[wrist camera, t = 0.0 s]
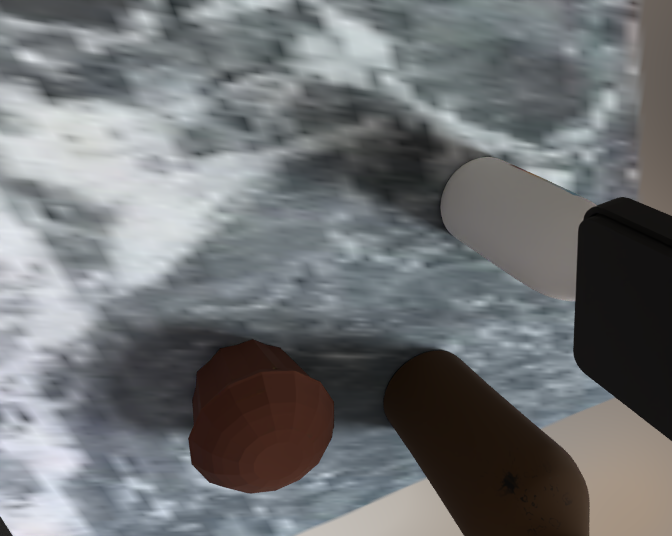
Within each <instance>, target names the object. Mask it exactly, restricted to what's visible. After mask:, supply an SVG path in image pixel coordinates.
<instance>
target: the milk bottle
mask: <svg viewBox="0 0 672 536" xmlns="http://www.w3.org/2000/svg"><path fill="white" fill-rule="evenodd" d="M594 206H597V205H595V204H594V203H592V202H591V201H589V200H587V199H585V198H583V197H581V196H579V195H577V194H575V193H573V192H571V191H569V190H567V189H565V188H563V187H561V186H558V185H556V184H554V183H552V182H550V181H548V180H545V179H543V178H541V177H539V176H537V175H534V174H532V173H530V172H528V171H525V170H523V169H521V168H519V167H517V166H514V165H512V164H510V163H508V162H505V161H503V160H500V159H497V158H494V157H482V158H477V159H475V160H471V161H469V162H468V163H466V164H464V165H463V166H461V167H460V168H459V169H458V170H457V171H456V172H455V173H454V174H453V175H452V176H451V178H450V179H449V181H448V182H447V184H446V186H445V189H444V191H443V194H442V198H441V206H440V209H441V216H442V220H443V223H444V225H445V227H446V229H447V230H448V231H449V232H450V233H451V234H452V235H453V236H454V237H456V238H457V239H458V240H460V241H461V242H463V243H464V244H465V245H467V246H468V247H470V248H471V249H473V250H474V251H476V252H477V253H479V254H480V255H481V256H483V257H484V258H486V259H487V260H489V261H490V262H492V263H493V264H495V265H496V266H498V267H499V268H501V269H502V270H504V271H505V272H507V273H508V274H510V275H511V276H513V277H514V278H516V279H517V280H519V281H520V282H522V283H523V284H525V285H527V286H528V287H530V288H532V289H533V290H535V291H537V292H539V293H542V294H544V295H546V296H549V297H552V298H556V299H560V300H567V301H575V296H576V271H577V245H578V228H579V225H580V223H581V222H582V221H583V219H584V215H585V213H586V212H587V210H589V209H590V208H592V207H594Z"/></svg>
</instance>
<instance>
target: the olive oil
mask: <svg viewBox="0 0 672 536" xmlns="http://www.w3.org/2000/svg"><path fill="white" fill-rule="evenodd" d="M384 411H385V414H386V417H387V418H388V420H389V422H390V423H391V425H392V426H393V428H394V429H395V430H396V432H397V433H398V435H399V436H400V438H401V439H402V441H403V442H404V444H405V445H406V447H407V448H408V449H409V451H410V452H411V454H412V455H413V457H414V458H415V460H416V462H417V463H418V465H419V466H420V468H421V469H422V471H423V472H424V474H425V475H426V477H427V478H428V480H429V481H430V483H431V484H432V486H433V488H434V489H435V491H436V492H437V494H438V495H439V497H440V498H441V500H442V502H443V503H444V505H445V506H446V508H447V509H448V511H449V513H450V514H451V516H452V517H453V519H454V521H455V522H456V524H457V525H458V527H459V528H460V530H461V532H462V533H463V535H464V536H589V494H588V489H587V486H586V483H585V480H584V478H583V476H582V474H581V472H580V470H579V468H578V467H577V465H576V463H575V462H574V460H573V459H572V458H571V456H570V455H569V454H568V453H567V452H566V451H565V450H564V449H563V448H562V447H561V446H559V445H558V444H557V443H556V442H555V441H554V440H552V439H551V438H550V437H549V436H548V435H547V434H545V433H544V432H543V431H542V430H541V429H539V428H538V427H537V426H536V425H535V424H534V423H532V422H531V421H530V420H529V419H528V418H527V417H525V416H524V415H523V414H522V413H521V412H520V411H518V410H517V409H516V408H515V407H514V406H513V405H511V404H510V403H509V402H508V401H507V400H506V399H504V398H503V397H502V396H501V395H500V394H499V393H498V392H496V391H495V390H494V389H493V388H492V387H491V386H489V385H488V384H487V383H486V382H485V381H484V380H483V379H482V378H481V377H479V376H478V375H477V374H476V373H475V372H474V371H473V370H472V369H471V368H470V367H468V366H467V365H466V364H465V363H464V362H463V361H462V360H461V359H460V358H458V357H457V356H456V355H454V354H452V353H450V352H447V351H430V352H426V353H423V354H420V355H418V356H416V357H414V358H413V359H411V360H409V361H408V362H407V363H405V364H404V365H403V366H402V367H401V368H400V369H399V370H398V371H397V372H396V373H395V375H394V376H393V377H392V379H391V381H390V382H389V384H388V386H387V389H386V391H385V395H384Z"/></svg>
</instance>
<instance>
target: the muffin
mask: <svg viewBox="0 0 672 536" xmlns="http://www.w3.org/2000/svg"><path fill="white" fill-rule="evenodd" d="M192 403H193V419H194V426H193V428H192V431H191V433H190V435H189V437H188V440H189V447H190V455H191V462H192V465H193V466H194V467H195V468H196V469H197V470H198V471H199V472H200V473H201V474H202V475H203V476H204V477H205V478H206V479H207V481H208V482H209V483H213V484H216V485H219V486H222V487H226V488H230V489H234V490H237V491H241V492H245V493H259V492H267V491H276V490H278V489H280V488H282V487H285V486H287V485H289V484H291V483H293V482H296V481H298V480H300V479H301V478H302V477H303V476H304V475H306V474H307V473H308V472H309V471H310V470H311V469H312V468H314V467H315V466H316V465H317V464H318V463H319V461H320V459H321V457H322V456H323V454H324V452H325V450H326V448H327V446H328V444H329V442H330V440H331V438H332V433H333V428H334V401H333V400H332V398H331V397H330V396H329V394H328V393H327V391H326V390H325V388H324V387H323V385H322V384H321V382H319V381H317V380H315V379H312V378H310V377H309V376H308V375H307V374H306V373H305V372H304V371H303V370H302V369H301V368H300V367H299V366H298V365H297V364H296V363H295V362H294V361H293V360H292V359H291V358H290V357H289V356H288V355H287V354H286V353H285V352H284V351H283V350H282V349H281V348H279V347H275V346H270V345H265V344H263V343H261V342H258V341H256V340H253V339H252V340H249V341H246V342H243V343H241V344H238V345H234V346H229V347H224V348H220V349H219V350H218V352H217V353H216V354H215V355H214V356H213V358H212V359H211V360H210V361H209V362H208V363H207V364H206V365H204V366H203V367H202V368H201V369H200V370H199V371H197V379H196V388H195V392H194V396H193V399H192Z"/></svg>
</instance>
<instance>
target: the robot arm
mask: <svg viewBox="0 0 672 536" xmlns="http://www.w3.org/2000/svg"><path fill="white" fill-rule="evenodd" d="M573 352H574V358H575V361H576V363H577V365H578V366H579V368H580V369H581V370H582V371H583V372H584V373H585V374H586V375H587V376H589V377H590V378H591V379H592V380H594V381H595V382H596V383H598V384H599V385H600V386H601V387H603V388H604V389H605V390H607V391H608V392H609V393H611V394H612V395H613V396H614V397H616V398H617V399H618V400H620V401H621V402H622V403H623V404H625V405H626V406H627V407H629V408H630V409H631V410H632V411H634V412H635V413H636V414H638V415H639V416H640V417H641V418H643V419H644V420H645V421H647V422H648V423H649V424H650V425H652V426H653V427H654V428H656V429H657V430H658V431H660V432H661V433H662V434H663V435H665V436H666V437H667V438H669V439H670V440H671V441H672V216H670V215H668V214H666V213H663V212H660V211H658V210H656V209H654V208H651V207H649V206H646V205H644V204H642V203H639V202H637V201H634V200H632V199H630V198H625V197H620V198H616V199H613V200H611V201H608V202H605V203H603V204H600V205H597V206H594V207H592V208H590V209H589V210H587V212H586V213H585V215H584V219H583V221H582V222H581V223H580V225H579V228H578V245H577V271H576V296H575V322H574V348H573ZM0 536H12V534H11V533H10V531H9V529H8V528H7V526H6V525H5V523H4V522H3V520H2V518H1V517H0Z"/></svg>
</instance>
